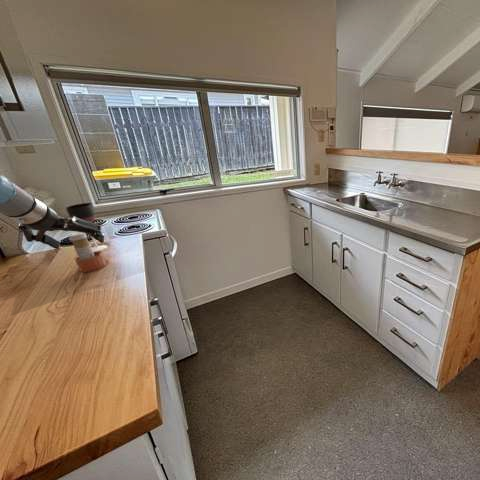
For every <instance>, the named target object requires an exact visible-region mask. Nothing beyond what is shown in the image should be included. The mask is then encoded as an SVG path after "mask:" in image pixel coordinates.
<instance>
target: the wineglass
mask: <svg viewBox="0 0 480 480" xmlns="http://www.w3.org/2000/svg"><path fill="white" fill-rule="evenodd" d="M65 210H66V212H67V214H68V216H69V215H73V216H75V217H77V218H79V219H82V220H85V221H88V222H92V223H94V221H95V219H96V213H95V209H94V206H93V203H91V202H84V203H78V204H71V205H69V206H66V207H65ZM90 238H91V240H92V243H93V245H94V247H93V246H92V247H91V248H92V250H93V252H94V251H100V252H101V251H103V250H105V249H107V248H108V245H106V244H103V245H98V244H97V242H96V239H95V238H93V237H92V236H90Z"/></svg>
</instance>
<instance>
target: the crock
mask: <svg viewBox="0 0 480 480" xmlns="http://www.w3.org/2000/svg"><path fill="white" fill-rule="evenodd" d="M93 253H94V255H95V257H92V258H89V259H84V260H80V259H79V257H78V256H76V257H75V258H74V261H75V263H76V266H77V268H78V270H79V272H80V273H90V272H95V271H98V270H101V269H102V268H104V267H105V266H106V265H107V262H106V260H105V257H104V255H103V252H102V251H101V250H100V251H94V252H93Z"/></svg>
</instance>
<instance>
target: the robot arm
mask: <svg viewBox="0 0 480 480" xmlns="http://www.w3.org/2000/svg"><path fill="white" fill-rule="evenodd" d="M0 214H2V215H4V216H6V217H8V218H10V219H11V220H13V221H15V222H17V223H18V227H17V228H18V230H19V231H20V232H22V233H23V236H24V238H25V240H26V241H27V242H28V243H32V242H33V241H35V242H37V243H39V242H40V243H42V244H44V245H47V246H49V247H51V248H53V249H55V250H60V244H61V242H60V240H57V239H55V238H54V237H51V236H50V235H48V234H46V232H55V231H63V232H69V231H71V232H82V233H85V234H89V236H90V237H91V236H92V237H93V238H94V239H95V241H97V242H99V243H101V244H102V243H103V244H104V243H105V235H104V234H103V233H102V225H101V224H98V223H94V222H88V221H85V220H82V219H79V218H77V217H75V216H73V215H69V214H68V217H65V218H64V217H62V216H59V215H58V213H57V212H56V211H55V210H54V209H52V208H51V207H49V206H48V205H46V204H45V203H44V202H42V201H40V200H39V199H37V198H36V197H34V196H32V195H31V194H29V193H28V192H26V191H25V190H24V189H22V188H21V187H20V186H18V185H17V184H15V183H14V182H13V181H11V180H10V179H9V178H7V177H6V176H4V174H2V173H0ZM65 225H66V226H65ZM33 231H36V234H34V232H33Z"/></svg>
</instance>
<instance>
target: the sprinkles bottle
mask: <svg viewBox="0 0 480 480" xmlns="http://www.w3.org/2000/svg"><path fill="white" fill-rule="evenodd" d="M68 238H69V240H70V242H71V244H72V245H73V247H74V251H75V253H76V255H77V257H79V259H80V260H84V259H89V258H92V257H95V255H94V253H93V250H92V248H93V247H92V246H91V244H90V242H89V240H88V237H87V233H82V232H77V231H75V232H73V233H70V234H69V235H68Z"/></svg>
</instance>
